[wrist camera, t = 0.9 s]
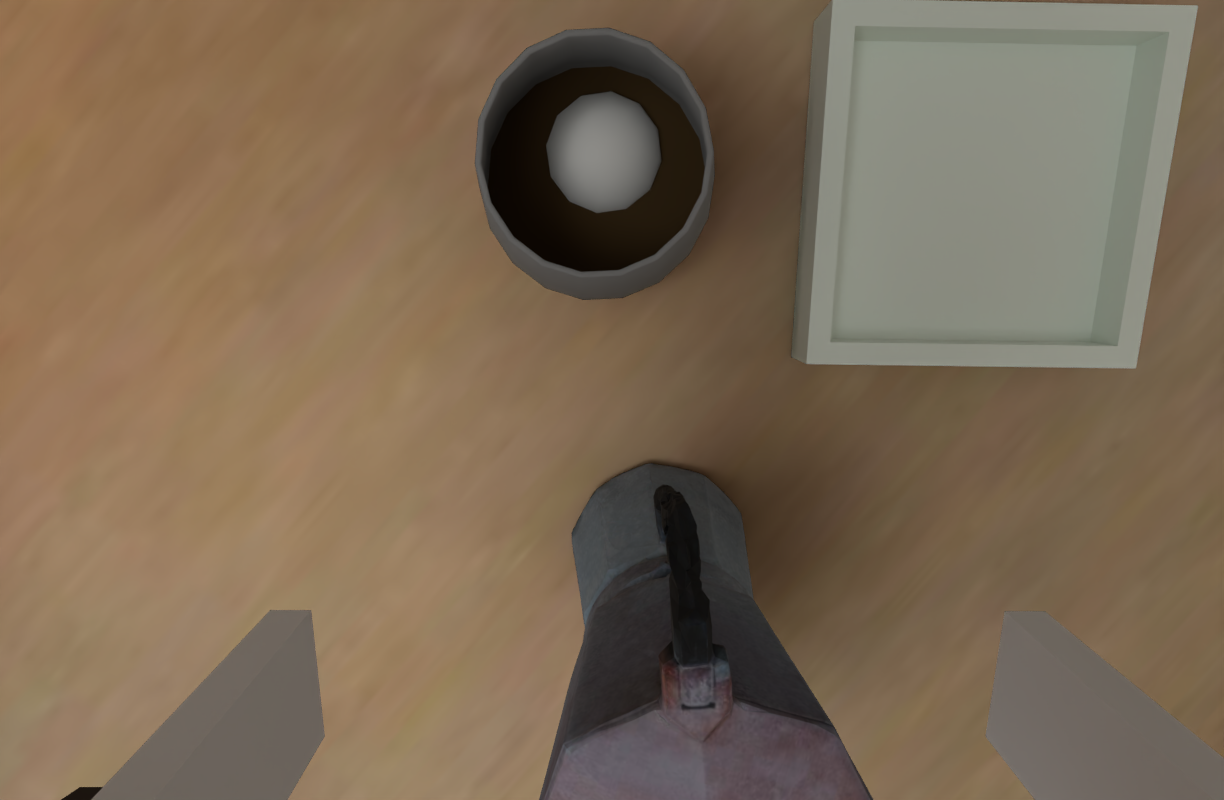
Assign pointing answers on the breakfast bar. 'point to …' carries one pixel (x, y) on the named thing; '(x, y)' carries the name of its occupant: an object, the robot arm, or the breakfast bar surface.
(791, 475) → the breakfast bar surface
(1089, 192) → the tray
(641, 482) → the moka pot
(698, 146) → the cup
